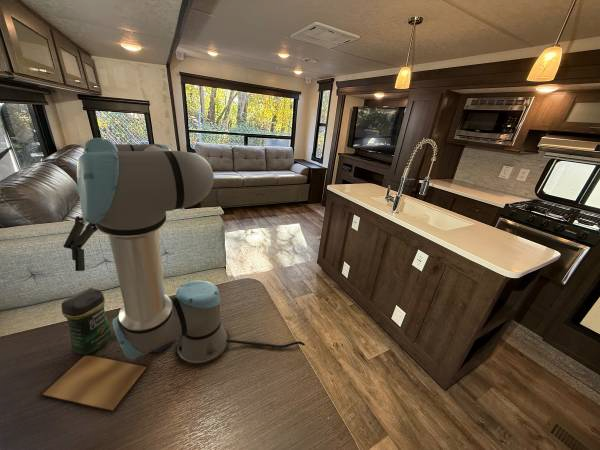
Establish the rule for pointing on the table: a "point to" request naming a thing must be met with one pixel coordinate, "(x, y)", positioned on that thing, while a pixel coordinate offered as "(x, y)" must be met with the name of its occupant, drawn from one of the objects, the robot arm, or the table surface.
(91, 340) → the coffee jar
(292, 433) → the table surface
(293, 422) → the table surface
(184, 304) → the robot arm
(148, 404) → the table surface
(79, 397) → the cork mat
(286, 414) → the table surface
